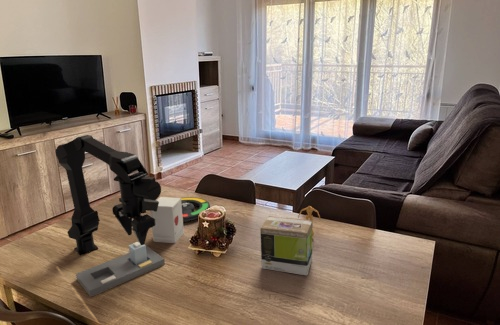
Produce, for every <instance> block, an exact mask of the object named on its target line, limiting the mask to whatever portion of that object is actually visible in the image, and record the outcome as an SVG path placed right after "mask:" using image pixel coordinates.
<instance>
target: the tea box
mask: <svg viewBox="0 0 500 325" xmlns="http://www.w3.org/2000/svg"><path fill="white" fill-rule="evenodd" d="M259 229H260V230H259V231H260V258H261V260H260V262H261V269H263V270H271V271H277V272H284V273H290V274H294V275H295V274H296V275H299V276H300V275H301V276H306V277H307V276H308V274H309V271H310V267H311V265H312V261H313V237H312V229H313V221H312V220H310V219H308V220H306V219H305V218H304V219H302V218H292V217H285V216H284V217H283V216H273V215H269V216H268V217H267V218H266V220H265V221H264V222H263V224H262V225H261V226H260V228H259ZM313 230H314V229H313Z"/></svg>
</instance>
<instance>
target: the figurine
mask: <svg viewBox="0 0 500 325" xmlns="http://www.w3.org/2000/svg"><path fill="white" fill-rule="evenodd" d="M303 211H306V213H307V214H306V215H305V220H312V222H313V221H314V220H313V219H314V218H313V217H314V216H313V214H312V213H313V211H314V212H316V213H317V217H318V220H319V221H321V215H320V214H319V211H318V210H317V209H315V208H314V207H312V206H311V205H308V206H307V207H305V208H302V209H301V210H300V212H299V214H298V216H297V219H300V215H301V214H302V212H303ZM314 235H315V231H314V229H312V238H313V237H314Z"/></svg>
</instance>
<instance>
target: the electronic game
mask: <svg viewBox="0 0 500 325" xmlns="http://www.w3.org/2000/svg"><path fill="white" fill-rule="evenodd" d="M180 198H181V205H182V216H183V223H185V222H190V220H191V222H192V221H195V220H197V219H199V218H198V215H199V213H200V212H201V211H203V210H206V209H208V208H210V209H211V204H210V202H209V200H208V201H207V200H206V199H204V198H201V197H196V196H195V197H193V196H190V197H189V196H187V197H185V196H184V197H180ZM194 205H196V206H194ZM198 206H199V208H198V209H196V210H195V207H198Z"/></svg>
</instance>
